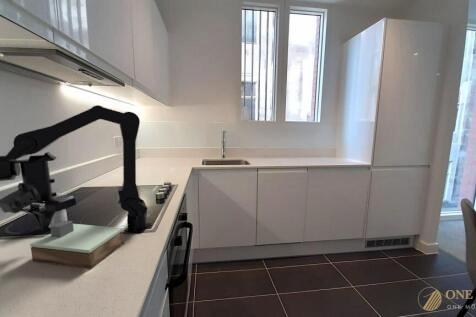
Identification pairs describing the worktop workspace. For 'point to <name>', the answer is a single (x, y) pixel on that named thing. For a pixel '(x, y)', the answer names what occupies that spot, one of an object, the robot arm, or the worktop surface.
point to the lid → (76, 237)
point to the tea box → (77, 254)
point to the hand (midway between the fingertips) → (44, 229)
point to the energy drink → (58, 213)
